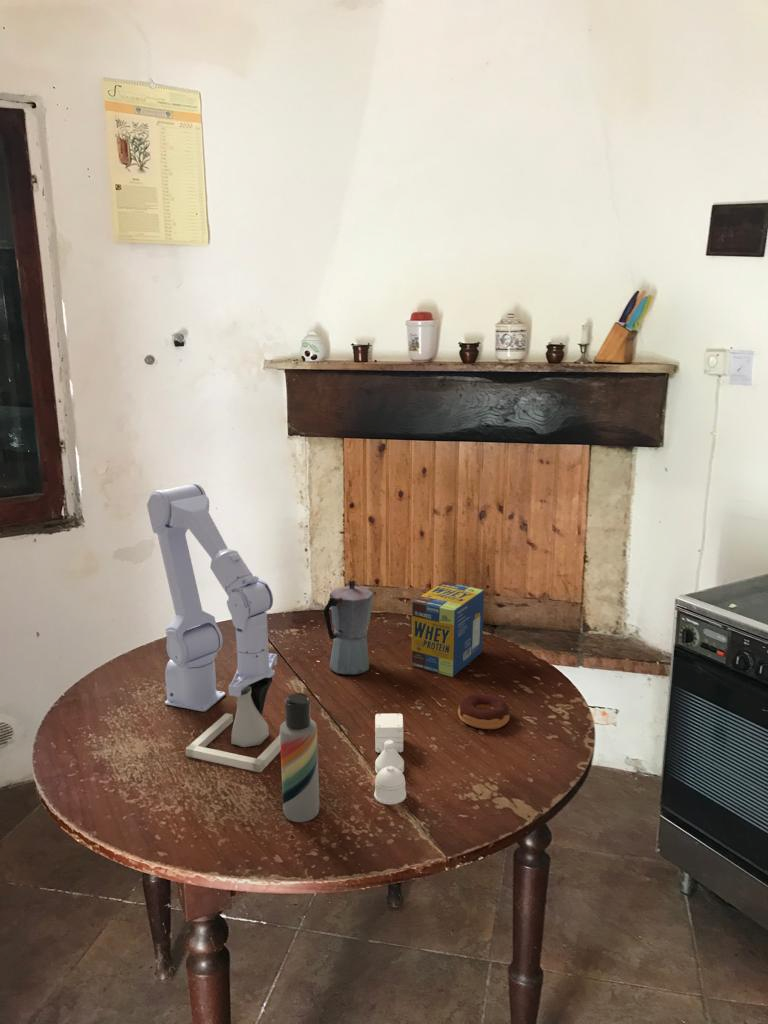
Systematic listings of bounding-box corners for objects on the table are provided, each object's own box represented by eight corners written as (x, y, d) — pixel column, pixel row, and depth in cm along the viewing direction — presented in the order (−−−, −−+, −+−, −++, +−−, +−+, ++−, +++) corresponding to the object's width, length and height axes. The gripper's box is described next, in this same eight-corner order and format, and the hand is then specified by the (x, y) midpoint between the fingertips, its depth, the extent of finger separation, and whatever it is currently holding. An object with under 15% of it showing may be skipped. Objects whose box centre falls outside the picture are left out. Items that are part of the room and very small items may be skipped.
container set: (374, 740, 148) (374, 713, 146) (403, 739, 148) (403, 712, 146) (374, 806, 128) (373, 775, 127) (406, 805, 128) (406, 775, 127)
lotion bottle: (283, 802, 129) (279, 688, 124) (319, 800, 129) (316, 687, 124) (282, 824, 123) (277, 706, 118) (319, 822, 124) (316, 705, 119)
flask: (263, 749, 144) (256, 702, 140) (225, 747, 145) (216, 701, 141) (274, 724, 151) (267, 679, 147) (237, 723, 152) (229, 678, 148)
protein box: (410, 667, 177) (410, 601, 173) (443, 642, 190) (444, 580, 186) (453, 678, 172) (454, 610, 168) (483, 652, 184) (485, 588, 180)
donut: (519, 719, 155) (520, 700, 154) (489, 738, 148) (490, 719, 147) (477, 702, 161) (478, 684, 160) (447, 720, 155) (447, 701, 154)
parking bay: (186, 756, 142) (185, 748, 142) (226, 720, 155) (225, 713, 154) (260, 772, 137) (260, 764, 137) (296, 734, 149) (295, 726, 149)
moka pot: (386, 660, 180) (386, 576, 175) (347, 687, 167) (345, 597, 162) (351, 651, 185) (350, 569, 180) (310, 676, 172) (308, 589, 167)
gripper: (251, 666, 138) (255, 737, 142) (290, 635, 152) (292, 700, 155) (216, 660, 141) (221, 730, 144) (257, 630, 154) (260, 694, 157)
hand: (255, 714), depth 150 cm, fingers closed
